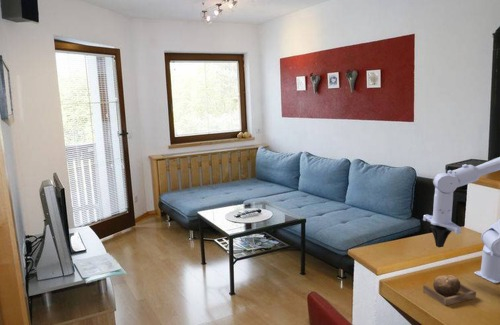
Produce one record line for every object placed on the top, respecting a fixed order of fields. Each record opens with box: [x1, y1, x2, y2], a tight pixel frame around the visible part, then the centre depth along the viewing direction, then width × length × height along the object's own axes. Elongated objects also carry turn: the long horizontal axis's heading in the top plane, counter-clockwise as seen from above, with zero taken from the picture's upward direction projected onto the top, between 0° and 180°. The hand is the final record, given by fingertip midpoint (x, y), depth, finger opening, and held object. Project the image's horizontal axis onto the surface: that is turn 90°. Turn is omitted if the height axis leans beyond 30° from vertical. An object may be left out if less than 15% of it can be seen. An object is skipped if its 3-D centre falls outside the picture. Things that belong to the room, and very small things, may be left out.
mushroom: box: [432, 274, 461, 298], centre depth 124 cm, size 8×8×6 cm
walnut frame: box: [422, 282, 477, 306], centre depth 124 cm, size 12×9×2 cm
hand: (439, 246), depth 136 cm, fingers closed
